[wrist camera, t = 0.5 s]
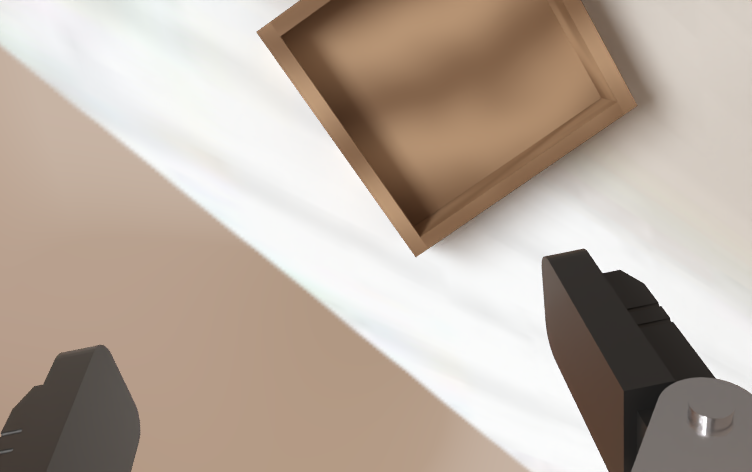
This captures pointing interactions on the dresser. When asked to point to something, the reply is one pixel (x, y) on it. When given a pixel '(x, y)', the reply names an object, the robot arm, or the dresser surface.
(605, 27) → the dresser surface
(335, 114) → the walnut tray
